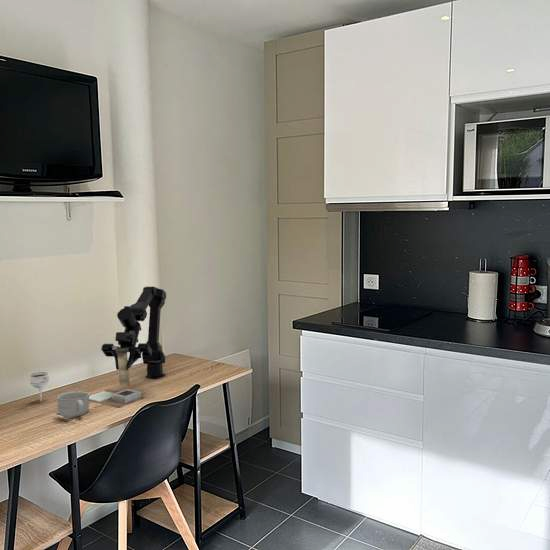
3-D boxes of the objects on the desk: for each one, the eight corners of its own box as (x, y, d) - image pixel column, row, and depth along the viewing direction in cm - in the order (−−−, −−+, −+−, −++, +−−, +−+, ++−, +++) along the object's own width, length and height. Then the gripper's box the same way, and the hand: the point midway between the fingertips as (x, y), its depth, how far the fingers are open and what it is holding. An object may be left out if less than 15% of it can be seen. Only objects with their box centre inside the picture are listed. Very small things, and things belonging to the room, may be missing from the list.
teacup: (57, 414, 200) (55, 393, 200) (88, 408, 205) (86, 388, 204) (61, 427, 188) (59, 404, 187) (94, 420, 193) (92, 398, 192)
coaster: (103, 392, 221) (103, 391, 221) (118, 395, 216) (118, 394, 215) (84, 398, 213) (84, 397, 213) (99, 402, 208) (99, 401, 208)
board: (108, 392, 224) (108, 389, 224) (145, 400, 212) (145, 397, 212) (81, 401, 214) (81, 398, 214) (118, 411, 201) (118, 408, 201)
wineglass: (33, 409, 207) (30, 378, 206) (30, 404, 213) (27, 374, 212) (52, 405, 211) (50, 374, 210) (48, 400, 217) (46, 371, 215)
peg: (125, 382, 213) (122, 346, 212) (133, 384, 211) (131, 347, 209) (115, 385, 210) (112, 348, 208) (123, 387, 207) (121, 350, 205)
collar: (127, 394, 216) (127, 388, 216) (141, 398, 212) (140, 391, 211) (111, 400, 210) (111, 394, 209) (125, 404, 205) (124, 397, 205)
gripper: (101, 323, 213) (90, 358, 203) (147, 322, 210) (138, 358, 201) (111, 338, 221) (101, 373, 212) (155, 338, 219) (147, 373, 209)
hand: (121, 369), depth 208 cm, fingers closed on peg, 4 cm apart
